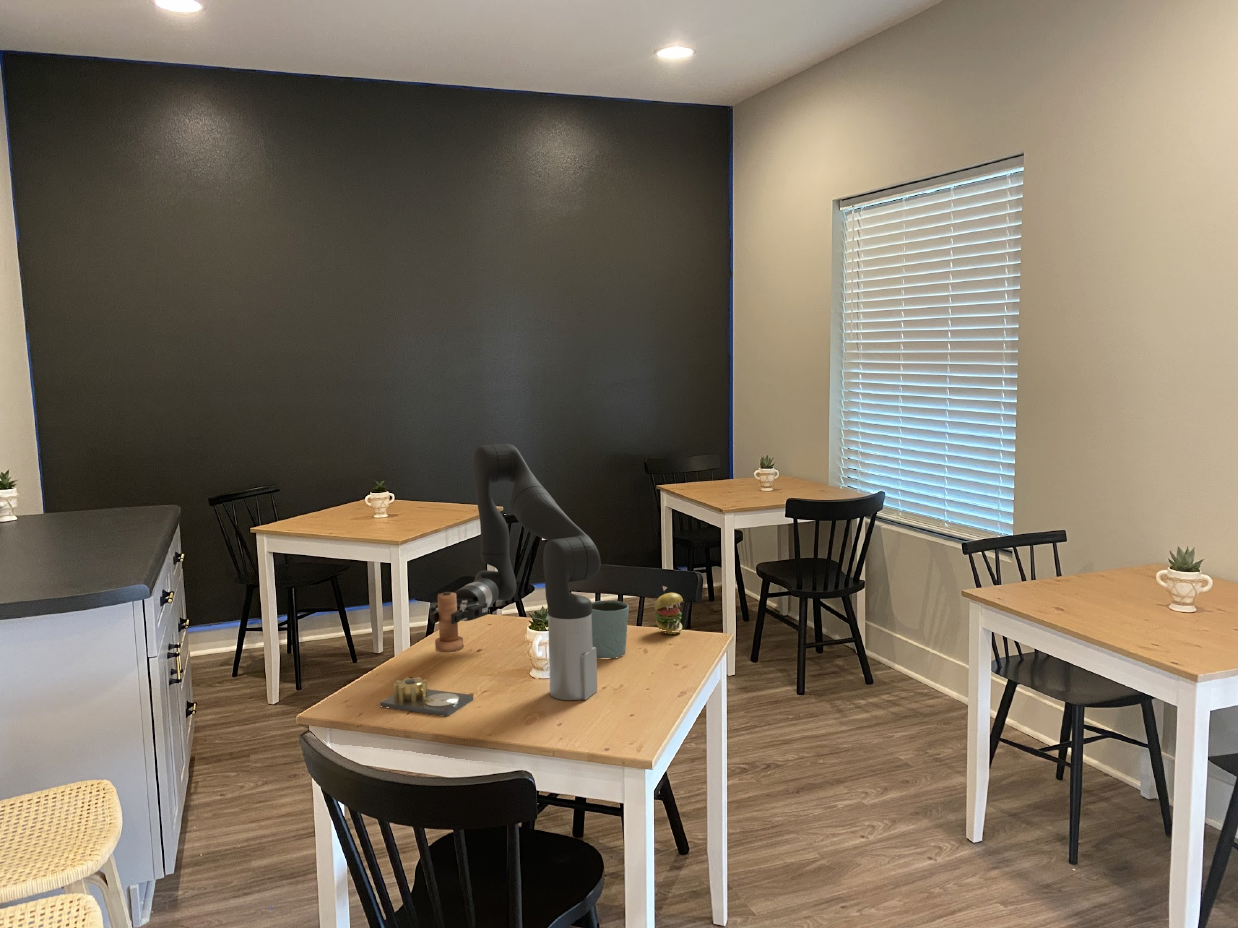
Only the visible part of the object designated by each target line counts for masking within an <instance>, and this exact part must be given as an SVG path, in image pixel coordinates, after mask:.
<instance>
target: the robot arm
mask: <svg viewBox="0 0 1238 928" xmlns="http://www.w3.org/2000/svg"><path fill="white" fill-rule="evenodd" d="M472 474H473V482H474V489H475V497H476V503H477V509H478V516H479V524H480V559H481V561H482V562H483V563H484V564H485V565H488V566H491V567H493V568H495V569H496V570H497V571H496V570H485V569H484V570H480V571H478V572H477V573H476V576H475V577H474V581H473V582H470V583H468V584H466V585H464V586H462V587H461V588H458V589H457V590H456V591H454V592H453V593H456V599H457V611H456V612H454V613H453V614H452V615H451V622H452V624H456V623H459V622H461V621H463V622H469V621H474V620H476V619H479V618H481V617H484V616H487V615H489V609H488V608H490V607H491V606H492V605H493V604H494V603H495V602H497V601H504V602H505V601H510V600H512V599H513V598H514V596H515V594H516V592H517V580H516V576H515V573H514V569H513V566H512V565H513V564H512V562H511V557H510V529H509V526H508V523H507V521H506V519H505V518H504V516H503V515H502V513H501V512H500V510H499V509H498V507H497V505H496V504H495V502H494V499H493V497H492V493H491V484H492V483H502V482H511V483H512V484H513V489H512V490H511V494H510V497H509V507H510V511H511V512H512V514H513V516H514V517H515V518H516V520H517V521H518V523H520V525H521V526H522V527H523V528H524V529H525V530H526V531H527V532H529V533H531V534H533V535H535V536H537V537H538V538H541V539H543V540H546V541H547V542H546V544H545V546H544V550H543V554H542V556H543V557H542V558H543V559H542V564H543V575H544V587H545V588H544V589H545V600H546V604H547V621H548V623H547V625H548V626H547V627H548V658H549V659H548V660H549V661H548V663H549V664H548V666H549V669H548V670H549V692H550V693H549V694H550V696H551V697H552V698H554V699H556V700H557V699H558V700H562V701H579V700H585V701H587V700H588V699H589V698H590V697H591V696H592V695H594V694H595V693H596V692H597V691H598V667H597V666H598V665H597V662H598V661H597V655H596V647H593V641H592V600H591V599H590V598H588V597H586V596H583V595H580V594H575V593H572V592H570V586H569V583H574V582H579V581H586V580H588V579H592V578H594V577H595V576H597V575H598V574H599V571H600V570H601V564H602V563H601V557H600V556H601V555H600V552H599V550H598V548H597V546H596V543H595V542H594V541H593V540H592V539H591V537H590V536H589V535H588V534H586V533H585V532H584V531H583V530H582V529H581V528H580V527H579V526H578V525H577V524H576V523H574V522H573V520H572V519H570V517H569V516H568V515H567V514H566V513H565V512H564V511H563V510H562V508H561V507H560V506H559V505H558V504H557V502H556V500H555V499H554V498H553V497H552V496H551V494H550V493H549V492H548V490H546V488H545V487H544V486H543V485H542V484H541V482H539V480H538V478H536V476H535V475H534V474H533V472H532V471H531V469H530V468H529V466H528V463H527V462H526V460H525V459H524V457H523V456H522V454H521V452H520V451H519V450H518V448H517V447H516V446H515V445H513V444H511V443H496V444H486V445H480V446H477V447H476V448H475V449H474V452H473V454H472ZM429 619H430V622H431V624H437V623H439V615H438V601H433V602H431V603H430V606H429Z"/></svg>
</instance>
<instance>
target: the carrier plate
mask: <svg viewBox="0 0 1238 928" xmlns="http://www.w3.org/2000/svg"><path fill="white" fill-rule="evenodd" d="M427 694H428V695H426V698H424V699H418V700H416V701H415V702H411V701H404V702H399V699H396V700H394V694H392V695H391V696H389V697H387V698H385V699H384V700H382V701H380V702H379V705H380V706H382V707H389V708H388V709H390V708H393V709H392V710H397V709H400V710H399V711H404V710H409V711H408V712H411V711H413V712H414V713H418V712H422V713H421V714H426V713H427V715H433V714H436V715H435V716H440V715H444V716H443V717H447V716H448V715H449V716H451V715H452V714H454V713H455V712H456V711H458V710H460V709H462V708H463V707H464V706H466V705H467V704H469V703H471V702H473V700H474V695H473V694H470V693H469V694H468V693H460V692H455V691H454V692H451V691H444V690H437V689H429V688H427ZM380 706H379V707H380ZM382 707H381V708H382ZM450 714H451V715H450ZM449 716H448V717H449Z"/></svg>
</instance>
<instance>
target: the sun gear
mask: <svg viewBox="0 0 1238 928" xmlns="http://www.w3.org/2000/svg"><path fill="white" fill-rule="evenodd" d="M394 682H395V683H394V684H393V685H392V686H393V688H392V689H393V695H394V700H396V699H399V702H404V701H411V702H415V701H416V700H418V699H424V698H426V695H428V694H427V689H428V680H427V679H422V677H418V676H417V677H415V678H414V677H413V678H412V677H411V678H410V677H404V679H402V680H401V679H398V680H395V681H394Z"/></svg>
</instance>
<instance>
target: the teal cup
mask: <svg viewBox="0 0 1238 928" xmlns="http://www.w3.org/2000/svg"><path fill="white" fill-rule="evenodd" d="M591 603H592V641H593V647H596V655H597V658H616V657H620V658H622V657H621V656H622V655H624V654H625V655H626V651H627V650H626V649H627V638H628V637H627V636H628V634H627V633H628V621H629V619H628V618H629V611H630V610H629V609H630V607H629V606H630V605H629V604H628V603H626V602H623V601H619V600H597V601H591ZM625 655H624V656H625ZM616 659H617V658H616Z"/></svg>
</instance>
